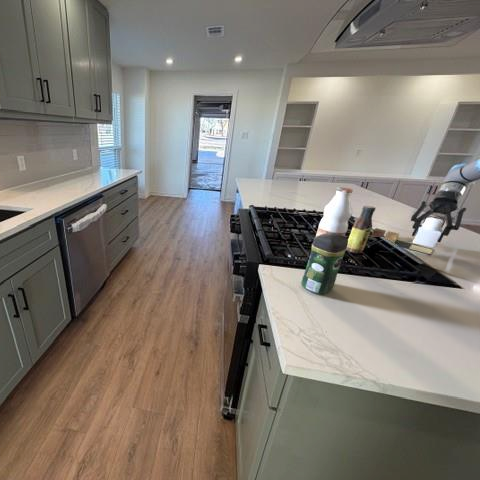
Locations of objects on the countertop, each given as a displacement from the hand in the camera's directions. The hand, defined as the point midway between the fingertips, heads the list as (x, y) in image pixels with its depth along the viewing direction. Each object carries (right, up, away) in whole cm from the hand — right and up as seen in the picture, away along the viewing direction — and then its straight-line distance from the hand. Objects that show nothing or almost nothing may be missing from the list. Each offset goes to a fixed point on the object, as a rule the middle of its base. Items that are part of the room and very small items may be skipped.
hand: (426, 237), depth 108 cm
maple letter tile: (-4, -2, +12) cm, 13 cm away
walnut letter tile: (-8, 0, +16) cm, 18 cm away
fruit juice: (-46, -8, -3) cm, 47 cm away
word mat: (-2, -3, +10) cm, 11 cm away
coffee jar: (-63, -17, -25) cm, 70 cm away
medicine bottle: (+3, -3, +4) cm, 5 cm away
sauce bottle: (-30, -6, +2) cm, 31 cm away
